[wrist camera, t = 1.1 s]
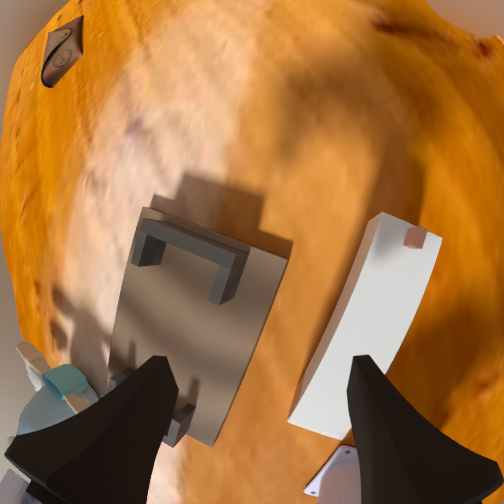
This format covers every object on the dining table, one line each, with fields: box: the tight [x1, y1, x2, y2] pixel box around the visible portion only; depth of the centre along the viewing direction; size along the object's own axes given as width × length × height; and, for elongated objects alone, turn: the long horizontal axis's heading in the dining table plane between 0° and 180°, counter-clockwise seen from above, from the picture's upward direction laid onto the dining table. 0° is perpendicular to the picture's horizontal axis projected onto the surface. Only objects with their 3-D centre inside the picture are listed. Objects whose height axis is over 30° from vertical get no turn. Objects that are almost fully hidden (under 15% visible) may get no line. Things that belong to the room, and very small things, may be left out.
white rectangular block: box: [287, 212, 443, 440], centre depth 16 cm, size 14×4×8 cm, turn 159°
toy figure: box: [7, 342, 99, 449], centre depth 20 cm, size 17×10×15 cm, turn 70°
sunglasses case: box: [41, 15, 83, 88], centre depth 29 cm, size 18×7×7 cm
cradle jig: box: [107, 207, 289, 448], centre depth 21 cm, size 19×13×4 cm
